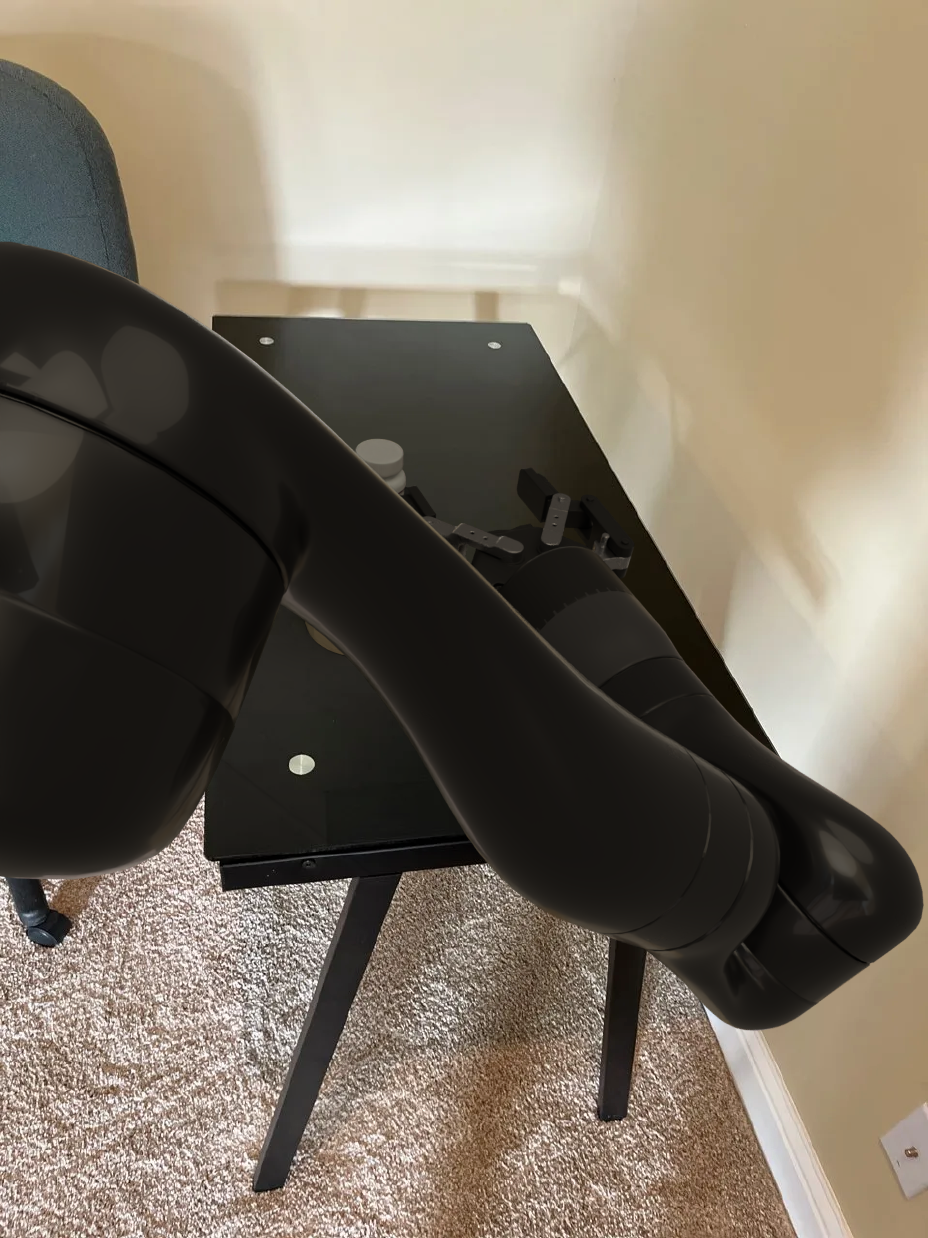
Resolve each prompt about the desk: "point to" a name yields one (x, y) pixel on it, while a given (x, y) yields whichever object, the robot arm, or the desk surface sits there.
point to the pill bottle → (384, 461)
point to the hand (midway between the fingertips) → (466, 487)
